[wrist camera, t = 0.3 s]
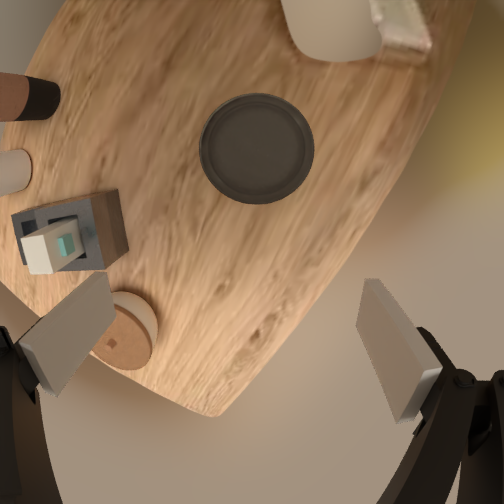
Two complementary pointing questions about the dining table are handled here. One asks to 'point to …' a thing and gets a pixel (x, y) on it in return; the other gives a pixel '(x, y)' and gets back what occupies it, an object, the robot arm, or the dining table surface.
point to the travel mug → (27, 98)
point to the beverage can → (14, 171)
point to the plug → (53, 246)
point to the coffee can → (256, 148)
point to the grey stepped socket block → (81, 227)
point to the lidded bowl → (128, 333)
